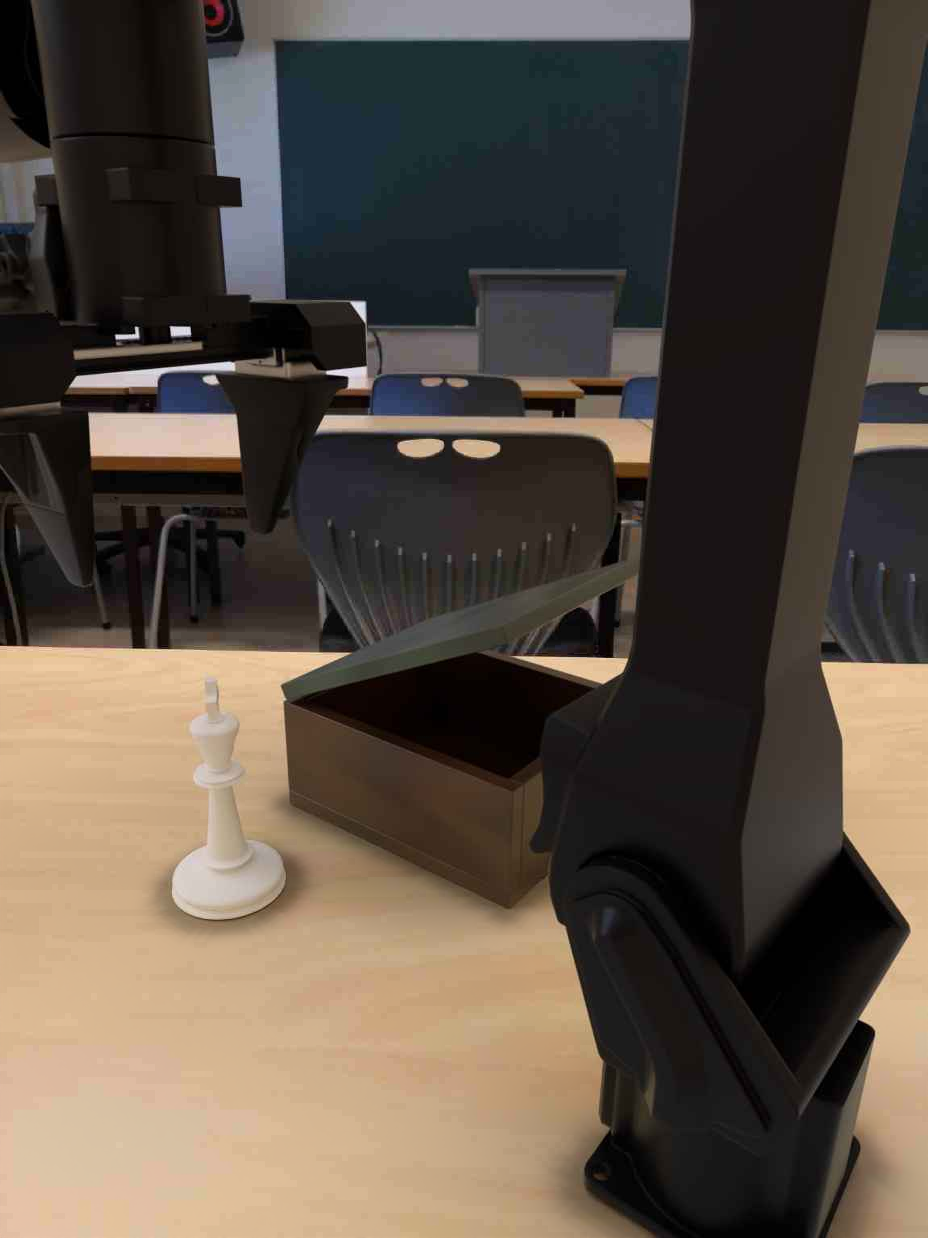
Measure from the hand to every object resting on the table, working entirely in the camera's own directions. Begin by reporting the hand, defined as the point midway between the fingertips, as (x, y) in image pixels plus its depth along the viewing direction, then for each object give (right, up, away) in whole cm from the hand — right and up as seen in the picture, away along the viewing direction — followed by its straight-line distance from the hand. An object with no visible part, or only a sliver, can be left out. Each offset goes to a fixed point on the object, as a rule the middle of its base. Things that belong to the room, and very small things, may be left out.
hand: (179, 556), depth 40 cm
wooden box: (+12, -12, +9) cm, 19 cm away
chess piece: (+2, -15, +2) cm, 15 cm away
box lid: (+12, -3, +6) cm, 14 cm away
